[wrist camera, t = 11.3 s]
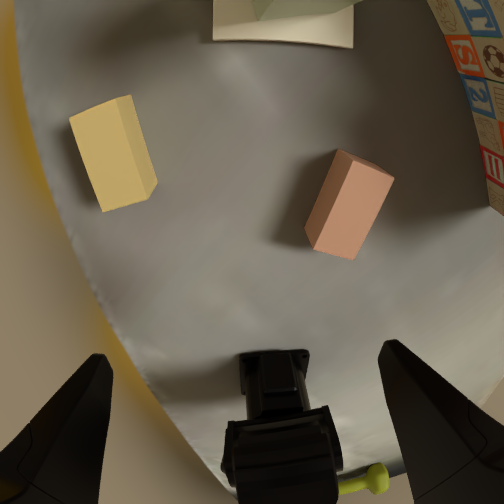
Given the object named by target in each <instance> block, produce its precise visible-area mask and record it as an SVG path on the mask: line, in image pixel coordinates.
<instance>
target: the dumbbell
mask: <svg viewBox="0 0 504 504" xmlns="http://www.w3.org/2000/svg"><path fill="white" fill-rule="evenodd" d="M338 487H339V495H340V494H347V493H351V492H355V491H358V490H361V489H366V488H367V489H369V490H370V491H371V492H372V493H373V494H375V495H376V494H381V493H383V492H385V491H386V490H387V489H388V487H389V476H388V471H387V469H386V468H385V466H384V465H383V464H382V463H376V464H373V465H371V466H370V467H369V468H368V470H367V473H366V475H365V476H364V477H361V478H356V479H352V480H347V481H343V482H339V483H338Z"/></svg>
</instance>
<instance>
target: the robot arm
mask: <svg viewBox="0 0 504 504" xmlns="http://www.w3.org/2000/svg"><path fill="white" fill-rule="evenodd" d="M309 357H310V354H309V351H308V350H297V351H285V352H271V353H254V354H242V355H240V356H239V364H240V380H241V393H242V394H243V395H246V409H247V420H242V421H228V427H227V429H226V431H225V432H226V434H225V445H224V455H223V458H222V462H221V471H222V472H223V473H225V474H226V476H227V478H228V482H229V484H230V486H231V487H236V491H237V497H238V503H239V504H336V503H337V500H338V495H339V487H338V481H337V474H336V472H340V471H343V457H342V451H341V446H340V442H339V438H338V435H337V432H336V428H335V425H334V422H333V419H332V416H331V413H330V410H329V407H328V405H326V406H322V407H321V408H316V409H311V408H310V403H309V398H308V394H307V389H306V384H305V378H306V373H307V368H308V363H309ZM378 365H379V369H380V374H381V379H382V384H383V389H384V394H385V399H386V403H387V406H388V409H389V413H390V416H391V419H392V422H393V426H394V429H395V432H396V436H397V439H398V443H399V446H400V450H401V453H402V457H403V460H404V464H405V468H406V472H407V475H408V479H409V483H410V487H411V491H412V495H413V499H414V504H504V426H503V425H502V424H500V423H499V422H497V421H496V420H495V419H493V418H492V417H490V416H489V415H488V414H486V413H485V412H484V411H483V410H481V409H480V408H479V407H478V406H476V405H475V404H474V403H473V402H472V401H470V400H468V398H467V397H466V396H464V395H463V394H462V393H461V392H460V391H459V390H457V389H456V388H455V387H454V386H453V385H451V384H450V383H449V382H448V381H447V380H445V379H444V378H443V377H442V376H441V375H439V374H438V373H437V372H436V371H435V370H433V369H432V368H431V367H430V366H429V365H427V364H426V363H425V362H424V361H423V360H421V359H420V358H419V357H418V356H417V355H415V354H414V353H413V352H412V351H411V350H409V349H408V348H407V347H406V346H404V345H403V344H402V343H401V342H400V341H398V340H396V339H393V340H387V341H385V342H384V344H383V346H382V349H381V351H380V354H379V356H378ZM112 385H113V370H112V368H111V366H110V363H109V361H108V360H107V357H106V356H105V355H104V354H97V353H95V354H92V355H91V356H90V357H89V358H88V359H87V360H86V361H85V362H84V363H83V364H82V365H81V366H80V368H78V369H77V371H76V372H75V373H74V374H73V375H72V376H71V377H70V378H69V379H68V380H67V381H66V382H65V383H64V384H63V385H62V387H61V388H60V389H59V390H58V391H57V392H56V393H55V394H54V395H53V397H51V399H50V400H49V401H48V402H47V403H46V404H45V405H44V406H43V407H42V408H41V410H40V411H39V412H38V413H37V414H36V415H35V416H34V417H33V419H32V420H31V421H30V423H28V424H27V425H26V426H25V428H24V429H23V430H22V431H21V432H20V433H19V434H18V435H17V436H16V437H15V438H14V439H13V441H11V442H10V443H9V444H8V445H7V446H6V447H5V448H4V449H3V450H2V451H1V452H0V504H98V498H99V489H100V480H101V472H102V465H103V458H104V450H105V444H106V438H107V431H108V426H109V420H110V411H111V397H112Z"/></svg>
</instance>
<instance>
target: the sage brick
mask: <svg viewBox="0 0 504 504" xmlns="http://www.w3.org/2000/svg"><path fill="white" fill-rule="evenodd" d="M252 1H253V4H254V8H255V12H256V15H257V19H258V22H259V21H264V20H270V19H277V18H284V17H291V16H300V15H309V14H320V13H335V12H337V11H339V10H342V9H344V8H346V7H349V6H351V5H353V4H356V3H358V2H361V1H363V0H252Z"/></svg>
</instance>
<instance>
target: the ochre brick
mask: <svg viewBox="0 0 504 504" xmlns="http://www.w3.org/2000/svg"><path fill="white" fill-rule="evenodd" d="M69 120H70V124H71V127H72V130H73V133H74V136H75V139H76V142H77V145H78V148H79V151H80V154H81V157H82V159H83V162H84V165H85V168H86V170H87V173H88V176H89V178H90V181H91V184H92V186H93V189H94V191H95V194H96V196H97V199H98V201H99V204H100V206H101V209H102V211H103V212H106V211H109V210H113V209H116V208H119V207H123V206H126V205H130V204H133V203H136V202H140V201H144V200H147V199H148V198H149V196H150V195H151V193H152V191H153V190H154V188H155V186H156V185H157V183H158V182H157V179H156V176H155V173H154V169H153V166H152V163H151V160H150V157H149V154H148V151H147V148H146V144H145V141H144V138H143V135H142V131H141V128H140V125H139V121H138V118H137V114H136V111H135V108H134V104H133V101H132V97H131V95H127V96H123V97H119V98H115V99H113V100H110V101H108V102H105V103H103V104H100V105H98V106H95V107H93V108H91V109H88V110H86V111H84V112H81V113H79V114H77V115H75V116H73V117H71V118H69Z"/></svg>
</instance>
